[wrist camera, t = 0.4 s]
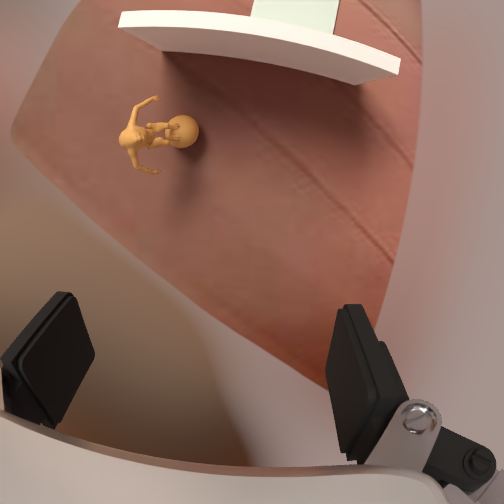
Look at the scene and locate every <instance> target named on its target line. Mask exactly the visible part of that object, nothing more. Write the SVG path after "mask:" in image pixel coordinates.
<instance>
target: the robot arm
mask: <svg viewBox="0 0 504 504" xmlns="http://www.w3.org/2000/svg"><path fill="white" fill-rule="evenodd" d="M94 357H95V352H94V348H93V346H92V343H91V341H90V338H89V335H88V332H87V329H86V326H85V323H84V320H83V318H82V314H81V311H80V308H79V305H78V301H77V299H76V298H75V297H74V296H73V294H72V293H70V292H60V291H59V292H56V294H54V295H53V297H52V298H51V299H50V300H49V301H48V302H47V303H46V304H45V305H44V307H43V308H42V309H41V310H40V311H39V312H38V313H37V314H36V316H35V317H34V318H33V319H32V320H31V321H30V322H29V324H28V325H27V326H26V327H25V328H24V330H23V331H22V332H21V333H20V334H19V336H18V337H17V338H16V339H15V341H14V342H13V343H12V344H11V345H10V347H9V348H8V349H7V350H6V352H5V353H4V354H3V355H2V357H1V358H0V359H1V361H2V363H3V367H2V368H1V366H0V504H504V470H503V469H501V470H500V471H498V470H497V469H496V459H495V457H494V455H493V453H492V452H491V451H490V450H489V449H488V448H486V447H484V446H482V445H480V444H478V443H476V442H474V441H472V440H469V439H467V438H465V437H463V436H461V435H459V434H457V433H454V432H452V431H450V430H448V429H446V428H444V427H442V426H441V424H442V419H441V414H440V413H439V411H438V409H437V408H436V407H435V406H434V405H433V404H431V403H429V402H427V401H424V400H420V399H412V400H409V397H408V395H407V392H406V390H405V387H404V385H403V383H402V380H401V378H400V376H399V373H398V371H397V369H396V367H395V364H394V362H393V359H392V357H391V355H390V353H389V351H388V349H387V346H386V344H385V343H384V342H383V341H378V339H377V337H376V335H375V333H374V330H373V328H372V326H371V324H370V321H369V319H368V317H367V315H366V313H365V310H364V308H363V306H362V305H361V304H345V305H344V306H343V309H338V312H337V316H336V321H335V326H334V331H333V336H332V340H331V345H330V349H329V354H328V358H327V362H326V369H325V372H326V379H327V384H328V389H329V394H330V399H331V403H332V409H333V414H334V420H335V425H336V430H337V436H338V441H339V447H340V451H341V453H346V457H347V461H352V460H357V465H337V466H315V467H281V468H280V467H237V466H222V465H210V464H199V463H191V462H183V461H176V460H169V459H163V458H157V457H151V456H146V455H140V454H136V453H131V452H127V451H122V450H118V449H113V448H110V447H106V446H102V445H98V444H95V443H91V442H88V441H84V440H81V439H78V438H75V437H71V436H68V435H65V434H62V433H59V432H56V431H54V430H51V429H55V428H56V426H57V423H60V422H61V421H62V419H63V417H64V415H65V413H66V411H67V409H68V407H69V405H70V403H71V401H72V399H73V397H74V395H75V393H76V391H77V389H78V388H79V386H80V384H81V382H82V380H83V378H84V376H85V374H86V373H87V371H88V369H89V367H90V365H91V364H92V362H93V360H94ZM40 423H42V424H43V425H44V426H46V427H49V428H51V429H48V428H45V427H43V426H40Z"/></svg>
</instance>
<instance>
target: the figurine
mask: <svg viewBox="0 0 504 504" xmlns="http://www.w3.org/2000/svg"><path fill="white" fill-rule="evenodd" d="M157 99H161V98H159V96H153V97H151V98H149V99H147V100H145V101H144V102H142V103H140V104H138V105H136V106H135V107H134V108H133V111H132V114H131V118H130V121H129V123H128V126H127V128H126V129H125V130H124V131H123V132H122V133H121V134H120V137H119V143H120V145H121V146H122V147H123V148H125V149H126V150H127V151H128V154H129V155H130V157H131V160H132V163H133V165H134V168H135V169H136V170H140V171H143V172H146V173H150V174H153V175H156V174H159V173H160V172H161V171H159V170H156V171H152V170H150V169H149V168H145V167H143V166H139V162H138V157H137V151H138V150H139V149H141V148H143V147H144V146H145V145H146V144H147V145H146V147H147V148H148V149H151V148H154V147H163V146H168V145H169V143H170V144H171V145H172V146H174V147H177V148H186V147H188V146H190V145H192V144H193V143H194V142H195V141H196V139H197V137H198V134H199V128H198V125H197V123H196V121H195V120H194V119H193V118H191V117H189V116H186V115H179V116H176V117H174V118H172V119H171V120H170V121H169V122H168V123H162V122H159V123H148V124H147V125H146V129H147V130H146V129H144V128H143V127H139V126H137V125H136V121H137V115H138V110H139V109H140V108H142V107H143V106H145V105H147V104H149V103H150V102H151V101H152V100H155V101H159V100H157ZM164 130H165V136H166V138H161V137H157V138H154V136H155V135H154V133H161V132H162V131H164Z"/></svg>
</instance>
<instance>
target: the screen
mask: <svg viewBox="0 0 504 504" xmlns="http://www.w3.org/2000/svg"><path fill="white" fill-rule="evenodd" d="M118 28H120V29H122V30H124V31H126V32H128V33H130V34H132V35H133V36H135V37H137V38H139V39H141V40H143V41H145V42H147V43H148V44H150V45H152V46H154V47H156V48H157V49H159V50H161V51H170V52H186V53H198V54H208V55H217V56H225V57H233V58H240V59H246V60H252V61H258V62H263V63H269V64H274V65H279V66H284V67H288V68H293V69H297V70H301V71H305V72H309V73H313V74H317V75H321V76H325V77H328V78H332V79H335V80H339V81H342V82H345V83H349V84H352V85H358V84H362V83H366V82H370V81H374V80H378V79H382V78H386V77H391V76H395V75H398V71H399V66H400V60H401V59H400V58H398V57H395V56H393V55H390V54H388V53H385V52H383V51H380V50H377V49H375V48H372V47H369V46H366V45H364V44H361V43H358V42H355V41H352V40H349V39H345V38H342V37H339V36H335V35H332V34H329V33H325V32H321V31H318V30H314V29H310V28H306V27H301V26H297V25H293V24H288V23H283V22H278V21H273V20H267V19H261V18H255V17H248V16H241V15H233V14H224V13H213V12H199V11H174V10H153V11H128V12H122V14H121V18H120V21H119V25H118Z"/></svg>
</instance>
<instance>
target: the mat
mask: <svg viewBox="0 0 504 504" xmlns="http://www.w3.org/2000/svg"><path fill="white" fill-rule="evenodd" d="M338 4H339V0H254V4H253V8H252V12H251V16H250V17H255V18H261V19H267V20H273V21H278V22H283V23H288V24H293V25H297V26H301V27H306V28H310V29H314V30H318V31H321V32H325V33H329V34H332V35H333V30H334V25H335V20H336V14H337V9H338Z"/></svg>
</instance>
